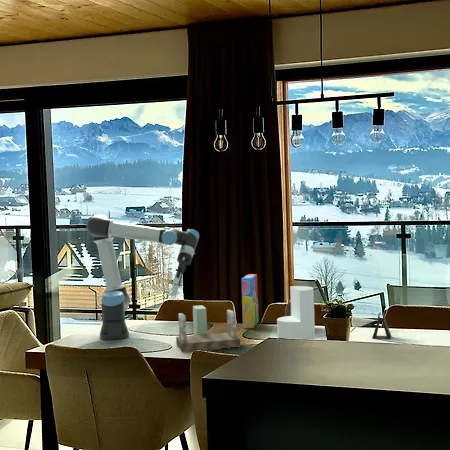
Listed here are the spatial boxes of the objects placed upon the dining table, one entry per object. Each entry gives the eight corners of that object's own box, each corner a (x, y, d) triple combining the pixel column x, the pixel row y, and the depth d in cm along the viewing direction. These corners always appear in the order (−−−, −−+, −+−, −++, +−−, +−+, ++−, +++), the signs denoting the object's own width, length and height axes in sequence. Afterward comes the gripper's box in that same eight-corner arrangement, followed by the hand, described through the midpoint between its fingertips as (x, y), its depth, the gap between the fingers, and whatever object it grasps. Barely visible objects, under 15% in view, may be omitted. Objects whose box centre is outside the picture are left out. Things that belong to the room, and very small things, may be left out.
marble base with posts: (182, 352, 351) (180, 318, 350) (176, 344, 368) (175, 312, 367) (240, 347, 356) (239, 313, 356) (232, 340, 374) (231, 308, 373)
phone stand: (372, 338, 365) (371, 314, 365) (372, 336, 371) (372, 312, 371) (390, 339, 363) (390, 314, 362) (391, 336, 369) (390, 312, 368)
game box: (252, 328, 403) (251, 278, 402) (242, 328, 404) (241, 278, 403) (258, 321, 424) (257, 273, 422) (249, 321, 425) (247, 273, 424)
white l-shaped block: (309, 343, 360) (307, 285, 358) (319, 350, 342) (317, 289, 341) (274, 345, 357) (272, 287, 356) (282, 353, 340) (280, 291, 339)
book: (197, 340, 376) (196, 309, 375) (193, 336, 387) (192, 305, 386) (207, 340, 377) (206, 308, 376) (203, 336, 388) (202, 305, 387)
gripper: (194, 245, 387) (183, 280, 376) (190, 269, 408) (179, 302, 396) (180, 241, 387) (169, 276, 376) (176, 265, 408) (165, 298, 397)
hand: (174, 289), depth 386 cm, fingers open, 13 cm apart
